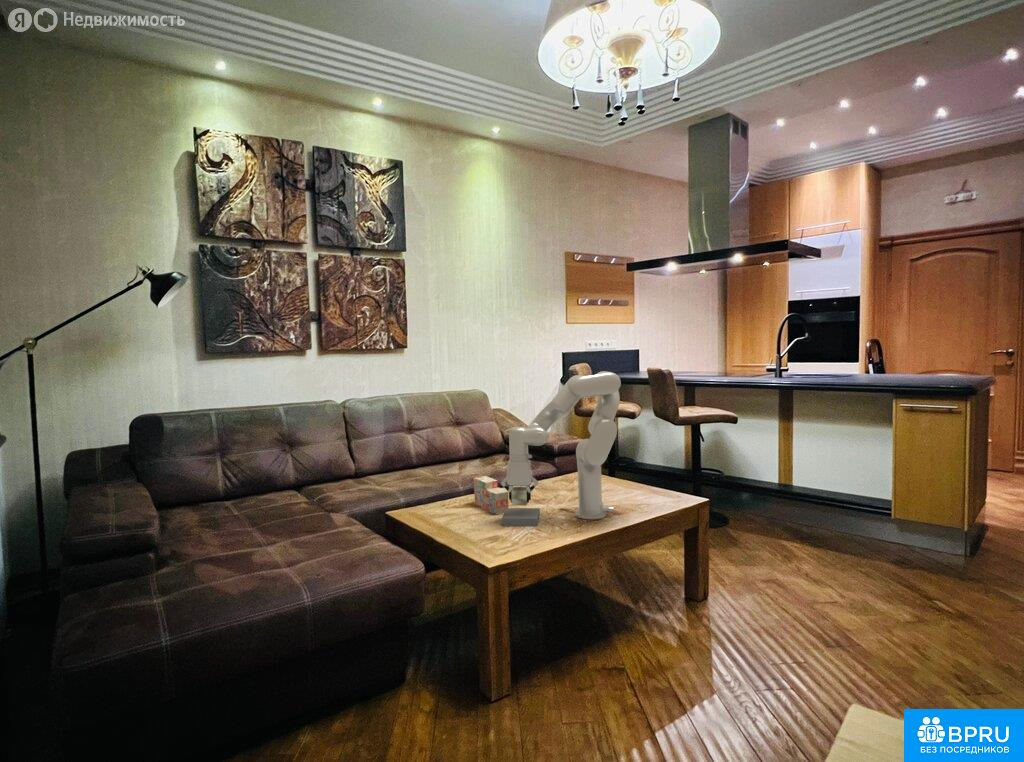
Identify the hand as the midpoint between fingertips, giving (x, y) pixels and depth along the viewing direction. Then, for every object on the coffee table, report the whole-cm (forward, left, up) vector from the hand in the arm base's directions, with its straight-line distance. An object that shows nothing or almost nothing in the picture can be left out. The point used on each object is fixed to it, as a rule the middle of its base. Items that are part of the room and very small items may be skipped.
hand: (519, 501), depth 222 cm
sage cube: (0, 0, -1) cm, 1 cm away
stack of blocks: (+15, -17, -8) cm, 24 cm away
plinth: (0, 0, -8) cm, 8 cm away
